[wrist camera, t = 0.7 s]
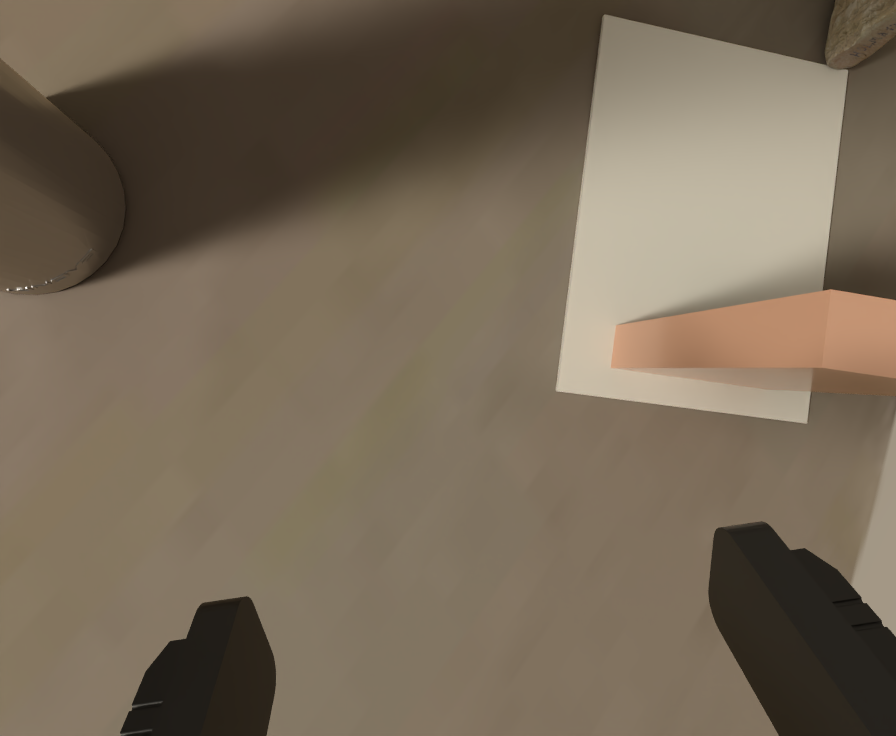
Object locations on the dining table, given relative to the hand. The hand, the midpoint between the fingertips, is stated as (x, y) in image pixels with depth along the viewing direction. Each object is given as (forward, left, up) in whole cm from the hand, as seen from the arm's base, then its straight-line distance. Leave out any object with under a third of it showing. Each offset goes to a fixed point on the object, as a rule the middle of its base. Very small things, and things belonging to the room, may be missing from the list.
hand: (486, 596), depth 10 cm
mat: (-2, +22, -23) cm, 32 cm away
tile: (+4, +17, -23) cm, 29 cm away
